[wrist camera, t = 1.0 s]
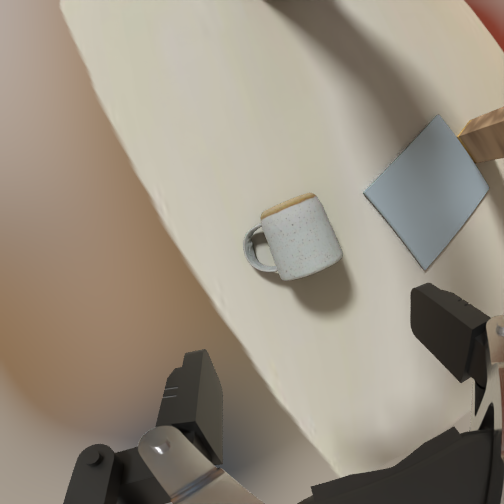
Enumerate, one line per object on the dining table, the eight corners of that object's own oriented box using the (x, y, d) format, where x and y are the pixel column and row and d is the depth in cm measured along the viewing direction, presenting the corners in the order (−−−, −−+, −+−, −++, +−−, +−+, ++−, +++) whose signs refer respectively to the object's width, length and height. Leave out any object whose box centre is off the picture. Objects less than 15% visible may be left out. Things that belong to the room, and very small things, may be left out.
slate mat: (436, 115, 33) (438, 114, 32) (487, 188, 34) (489, 187, 33) (362, 192, 35) (364, 192, 35) (423, 269, 36) (425, 270, 35)
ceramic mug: (311, 191, 36) (320, 186, 28) (336, 250, 36) (351, 261, 29) (233, 225, 37) (223, 229, 29) (260, 283, 38) (256, 302, 30)
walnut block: (469, 120, 32) (531, 96, 17) (487, 145, 33) (550, 130, 18) (456, 137, 33) (521, 114, 18) (474, 163, 33) (541, 151, 18)
